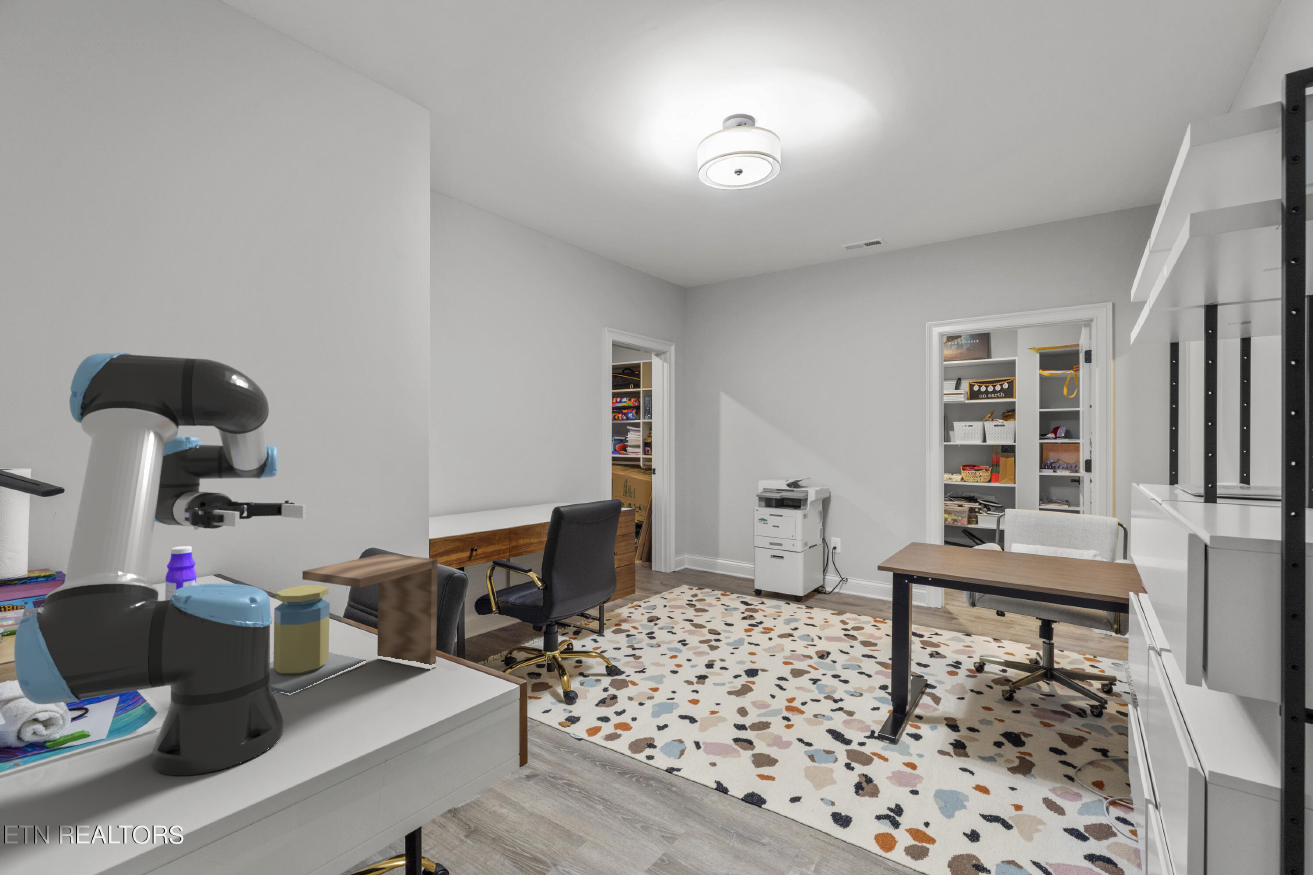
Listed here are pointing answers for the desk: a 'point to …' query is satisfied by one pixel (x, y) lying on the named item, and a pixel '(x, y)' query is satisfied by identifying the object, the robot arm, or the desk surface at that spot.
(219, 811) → the desk surface
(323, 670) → the mat
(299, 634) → the jar
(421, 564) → the shelf
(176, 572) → the bottle
